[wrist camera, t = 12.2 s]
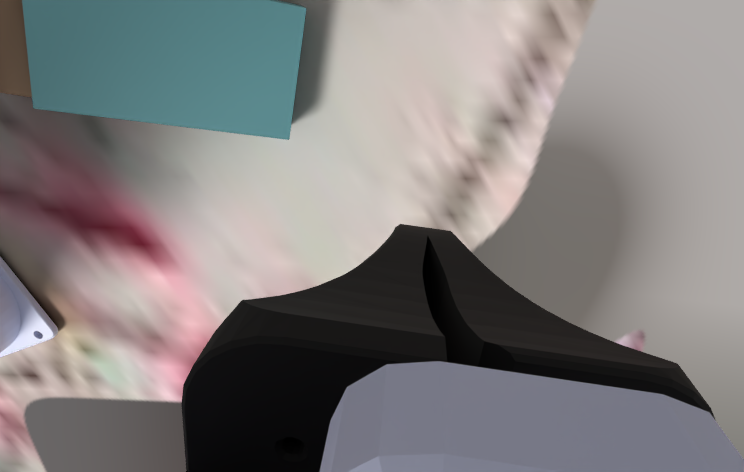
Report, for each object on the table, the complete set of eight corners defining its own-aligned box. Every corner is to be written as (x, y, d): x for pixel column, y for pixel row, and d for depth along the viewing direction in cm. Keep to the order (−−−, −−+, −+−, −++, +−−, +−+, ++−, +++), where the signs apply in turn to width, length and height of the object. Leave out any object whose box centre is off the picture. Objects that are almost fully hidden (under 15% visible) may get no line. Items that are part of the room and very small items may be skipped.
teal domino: (306, 7, 18) (16, -54, 15) (289, 139, 20) (33, 108, 17) (300, 5, 19) (33, -52, 16) (285, 128, 21) (47, 98, 18)
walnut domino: (168, -15, 18) (-164, -100, 14) (159, 117, 20) (-131, 72, 16) (168, -18, 19) (-135, -96, 15) (160, 106, 21) (-108, 63, 18)
